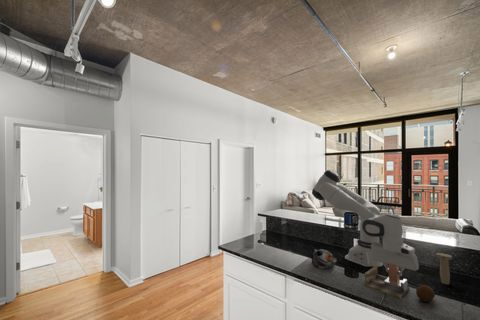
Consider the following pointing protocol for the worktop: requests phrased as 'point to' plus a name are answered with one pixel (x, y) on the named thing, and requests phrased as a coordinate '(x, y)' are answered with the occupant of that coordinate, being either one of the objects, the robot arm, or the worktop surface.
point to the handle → (444, 267)
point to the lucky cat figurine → (323, 259)
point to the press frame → (381, 283)
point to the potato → (425, 293)
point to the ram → (395, 278)
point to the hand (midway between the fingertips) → (394, 273)
